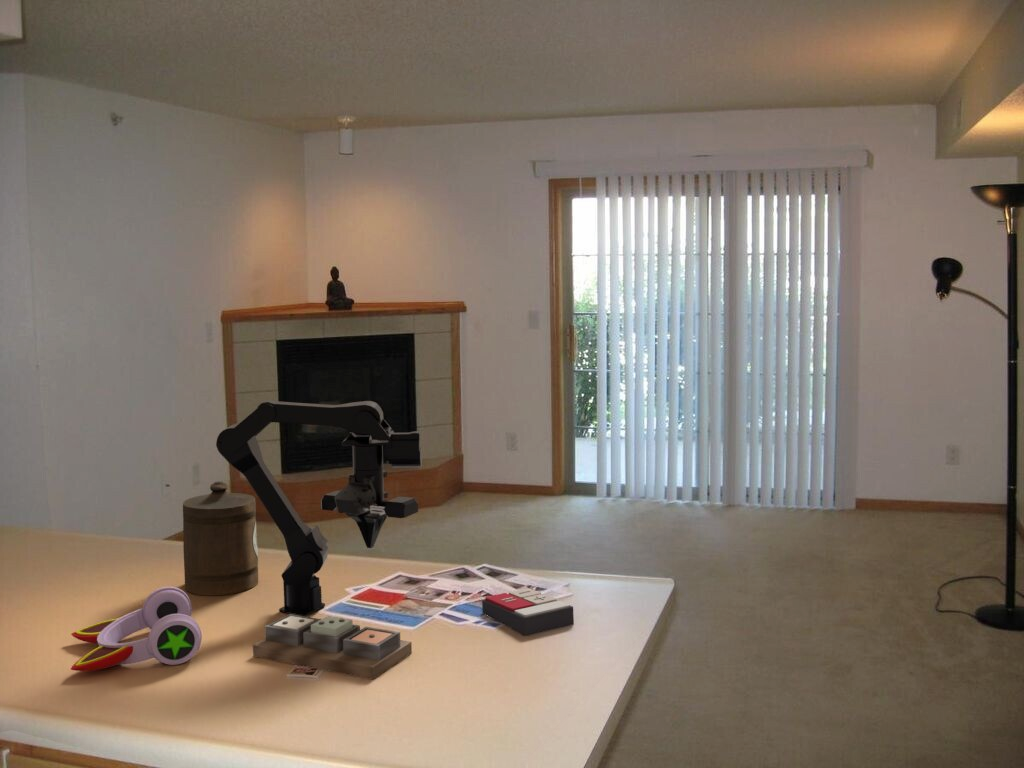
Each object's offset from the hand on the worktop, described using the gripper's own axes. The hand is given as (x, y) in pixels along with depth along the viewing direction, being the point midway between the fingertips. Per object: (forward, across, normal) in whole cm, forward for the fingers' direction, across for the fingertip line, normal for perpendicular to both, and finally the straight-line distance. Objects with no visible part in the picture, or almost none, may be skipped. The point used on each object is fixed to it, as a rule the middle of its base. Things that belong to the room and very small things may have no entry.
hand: (370, 547), depth 192 cm
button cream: (+9, -1, -23) cm, 25 cm away
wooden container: (+12, -37, 0) cm, 39 cm away
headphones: (+12, -25, -35) cm, 45 cm away
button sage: (+8, +7, -23) cm, 25 cm away
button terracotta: (+10, +15, -23) cm, 29 cm away
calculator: (+13, +30, +7) cm, 33 cm away
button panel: (+12, +7, -23) cm, 27 cm away
